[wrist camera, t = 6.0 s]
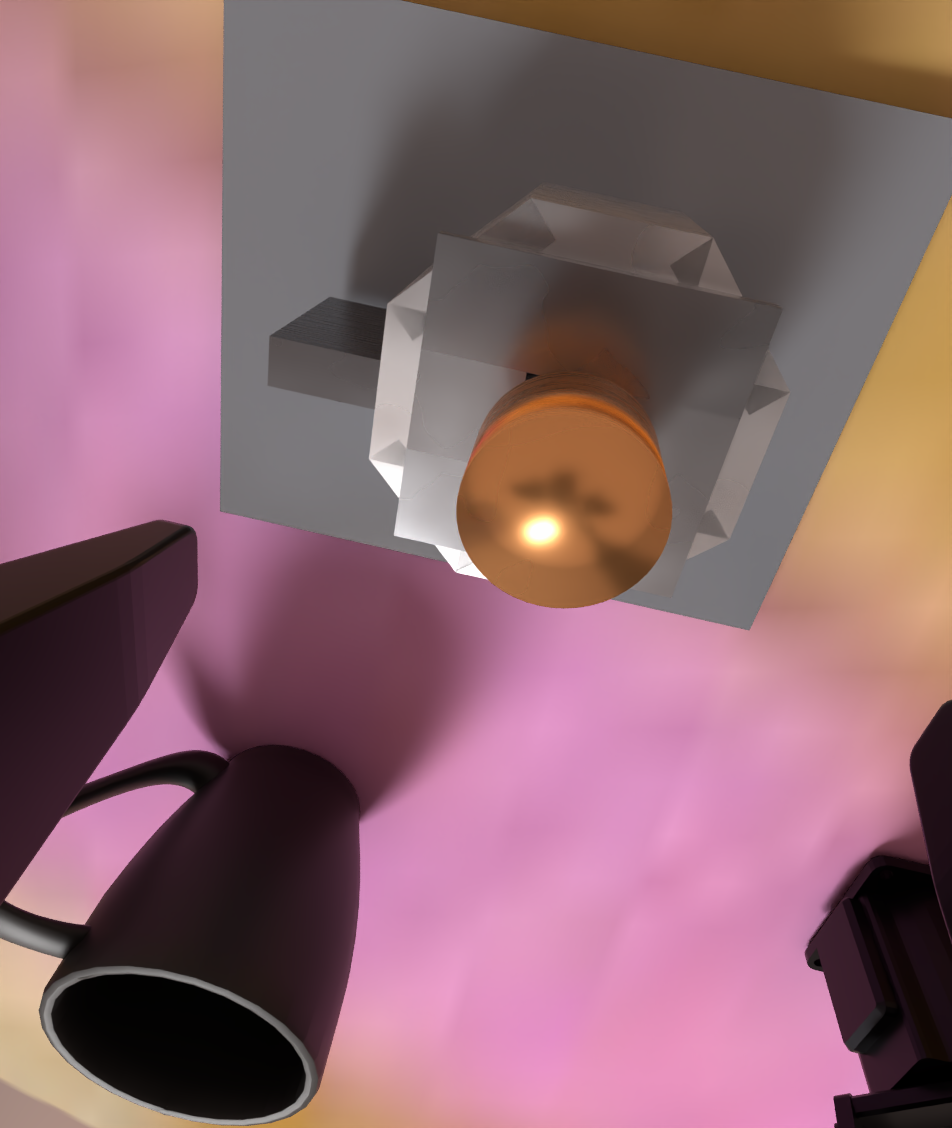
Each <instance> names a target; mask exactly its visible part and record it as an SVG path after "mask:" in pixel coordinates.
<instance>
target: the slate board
mask: <svg viewBox="0 0 952 1128" xmlns="http://www.w3.org/2000/svg"><path fill="white" fill-rule="evenodd" d="M543 182H547V183H552V184H557V185H561V186H566V187H570V188H575V189H580V190H584V191H589V192H593V193H598V194H603V195H607V196H612V197H616V198H621V199H626V200H630V201H635V202H639V203H644V204H649V205H653V206H658V207H662V208H667V209H672V210H676V211H681V212H683V213H684V214H685V215H686V216H688V217H689V218H690V219H691V220H693V221H694V222H695V223H696V224H697V225H699V226H700V227H701V228H702V229H704V230H705V231H706V232H707V233H708V234H710V235H711V236H712V237H713V238H714V240H715V242H716V244H717V246H718V248H719V250H720V252H721V254H722V256H723V258H724V260H725V262H726V264H727V266H728V268H729V270H730V272H731V274H732V276H733V278H734V280H735V282H736V284H737V286H738V288H739V290H740V292H741V294H742V296H743V297H747V298H752V299H757V300H761V301H766V302H770V303H775V304H778V305H779V306H780V307H782V308H783V310H782V313H781V316H780V318H779V321H778V323H777V326H776V329H775V331H774V334H773V336H772V339H771V342H770V344H769V347H768V349H769V351H770V353H771V355H772V357H773V359H774V361H775V363H776V365H777V367H778V369H779V371H780V373H781V375H782V377H783V379H784V381H785V383H786V385H787V387H788V389H789V391H790V395H789V397H788V400H787V402H786V404H785V407H784V409H783V412H782V414H781V417H780V419H779V421H778V424H777V426H776V429H775V431H774V433H773V436H772V438H771V441H770V443H769V445H768V448H767V450H766V453H765V455H764V457H763V460H762V462H761V465H760V467H759V470H758V472H757V474H756V477H755V479H754V482H753V484H752V486H751V489H750V491H749V494H748V496H747V498H746V501H745V503H744V506H743V508H742V511H741V513H740V515H739V518H738V520H737V523H736V525H735V527H734V530H733V532H732V535H731V537H730V539H729V540H727V541H725V542H723V543H721V544H719V545H717V546H715V547H712V548H710V549H708V550H706V551H704V552H702V553H700V554H698V555H696V556H694V557H692V558H689V559H687V560H686V561H685V564H684V567H683V569H682V572H681V574H680V577H679V580H678V582H677V585H676V587H675V590H674V593H673V595H672V598H669V597H665V596H660V595H656V594H651V593H647V592H643V591H638V590H634V589H629V590H627V591H625V592H624V593H622V594H620V595H618V596H616V597H614V598H612V600H617V601H621V602H626V603H630V604H634V605H639V606H643V607H648V608H652V609H657V610H661V611H666V612H670V613H674V614H679V615H683V616H688V617H692V618H697V619H701V620H705V621H710V622H714V623H719V624H723V625H728V626H732V627H737V628H741V629H745V630H750V628H751V626H752V624H753V622H754V619H755V617H756V615H757V613H758V611H759V609H760V607H761V604H762V602H763V600H764V598H765V596H766V594H767V591H768V589H769V587H770V585H771V583H772V581H773V579H774V576H775V574H776V572H777V570H778V568H779V566H780V563H781V561H782V559H783V557H784V555H785V553H786V551H787V548H788V546H789V544H790V542H791V540H792V538H793V535H794V533H795V531H796V529H797V527H798V525H799V523H800V520H801V518H802V516H803V514H804V512H805V510H806V507H807V505H808V503H809V501H810V499H811V497H812V495H813V492H814V490H815V488H816V486H817V484H818V482H819V479H820V477H821V475H822V473H823V471H824V469H825V467H826V464H827V462H828V460H829V458H830V456H831V454H832V452H833V449H834V447H835V445H836V443H837V441H838V439H839V436H840V434H841V432H842V430H843V428H844V426H845V424H846V421H847V419H848V417H849V415H850V413H851V411H852V408H853V406H854V404H855V402H856V400H857V398H858V396H859V393H860V391H861V389H862V387H863V385H864V383H865V380H866V378H867V376H868V374H869V372H870V370H871V368H872V365H873V363H874V361H875V359H876V357H877V355H878V352H879V350H880V348H881V346H882V344H883V342H884V340H885V337H886V335H887V333H888V331H889V329H890V327H891V324H892V322H893V320H894V318H895V316H896V314H897V312H898V309H899V307H900V305H901V303H902V301H903V299H904V297H905V294H906V292H907V290H908V288H909V286H910V284H911V281H912V279H913V277H914V275H915V273H916V271H917V269H918V266H919V264H920V262H921V260H922V258H923V256H924V253H925V251H926V249H927V247H928V245H929V243H930V241H931V238H932V236H933V234H934V232H935V230H936V228H937V225H938V223H939V221H940V219H941V217H942V215H943V213H944V210H945V208H946V206H947V204H948V202H949V200H950V197H951V195H952V118H947V117H942V116H938V115H933V114H928V113H924V112H919V111H914V110H910V109H905V108H900V107H896V106H891V105H887V104H882V103H877V102H873V101H868V100H863V99H859V98H854V97H849V96H845V95H840V94H835V93H831V92H826V91H821V90H817V89H812V88H807V87H803V86H798V85H793V84H789V83H784V82H779V81H775V80H770V79H765V78H761V77H756V76H751V75H747V74H742V73H737V72H733V71H728V70H723V69H719V68H714V67H709V66H705V65H700V64H695V63H691V62H686V61H681V60H677V59H672V58H668V57H663V56H658V55H654V54H649V53H644V52H640V51H635V50H630V49H626V48H621V47H616V46H612V45H607V44H602V43H598V42H593V41H588V40H584V39H579V38H574V37H570V36H565V35H560V34H556V33H551V32H546V31H542V30H537V29H532V28H528V27H523V26H518V25H514V24H509V23H504V22H500V21H495V20H490V19H486V18H481V17H476V16H472V15H467V14H462V13H458V12H453V11H449V10H444V9H439V8H435V7H430V6H425V5H421V4H416V3H411V2H407V1H402V0H224V56H223V192H222V329H221V465H220V511H221V512H226V513H230V514H235V515H239V516H243V517H248V518H252V519H257V520H261V521H266V522H270V523H275V524H279V525H283V526H288V527H292V528H297V529H301V530H306V531H310V532H315V533H319V534H323V535H328V536H332V537H337V538H341V539H346V540H350V541H355V542H359V543H363V544H368V545H372V546H377V547H381V548H386V549H390V550H395V551H399V552H403V553H408V554H412V555H417V556H421V557H426V558H430V559H434V560H439V561H443V562H448V561H447V560H446V559H445V557H444V556H443V555H442V553H441V552H440V551H439V550H438V548H437V547H436V546H435V545H434V544H429V543H425V542H420V541H416V540H411V539H407V538H402V537H398V536H394V531H395V524H396V517H397V510H398V503H399V497H398V496H397V495H396V493H395V492H394V491H393V490H392V488H391V487H390V486H389V484H388V483H387V482H386V480H385V479H384V478H383V476H382V475H381V474H380V473H379V471H378V470H377V469H376V467H375V466H374V465H373V463H372V462H371V461H370V460H369V454H370V446H371V437H372V429H373V420H374V412H375V410H374V409H370V408H365V407H361V406H356V405H352V404H347V403H343V402H338V401H334V400H329V399H325V398H320V397H316V396H311V395H307V394H302V393H298V392H293V391H289V390H284V389H280V388H275V387H271V386H267V385H268V360H269V336H270V335H272V334H273V333H275V332H276V331H278V330H279V329H281V328H282V327H284V326H285V325H287V324H289V323H290V322H292V321H293V320H295V319H296V318H298V317H299V316H301V315H302V314H304V313H305V312H307V311H309V310H310V309H312V308H313V307H315V306H316V305H318V304H319V303H321V302H322V301H324V300H326V299H327V298H329V297H334V298H339V299H343V300H348V301H352V302H357V303H361V304H366V305H371V306H375V307H380V308H384V309H387V303H388V302H390V301H391V300H392V299H393V298H394V297H395V296H396V295H398V294H399V293H400V292H401V291H402V290H403V289H404V288H406V287H407V286H408V285H409V284H410V283H411V282H412V281H414V280H415V279H416V278H417V277H418V276H419V275H420V274H422V273H423V272H424V271H425V270H426V269H427V268H428V267H430V266H431V265H432V264H433V263H434V256H435V249H436V243H437V236H438V233H439V232H440V231H446V232H450V233H455V234H460V235H464V236H469V237H470V236H471V235H473V234H474V233H475V232H477V231H478V230H480V229H481V228H482V227H484V226H485V225H486V224H488V223H489V222H490V221H492V220H493V219H494V218H496V217H497V216H498V215H500V214H501V213H503V212H504V211H505V210H507V209H508V208H509V207H511V206H512V205H513V204H515V203H516V202H517V201H519V200H520V199H522V198H523V197H524V196H526V195H527V194H528V193H530V192H531V191H532V190H534V189H535V188H536V187H538V186H539V185H541V184H542V183H543Z"/></svg>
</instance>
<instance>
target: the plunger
mask: <svg viewBox="0 0 952 1128" xmlns="http://www.w3.org/2000/svg"><path fill="white" fill-rule="evenodd" d="M456 518H457V525H458V531H459V535H460V538H461V541H462V544H463V546H464V548H465V550H466V552H467V554H468V556H469V558H470V559H471V561H472V562H473V564H474V565H475V566H476V568H477V569H478V570H479V571H480V572H481V574H482V575H483V576H484V577H486V578H487V579H488V580H489V581H490V582H491V583H492V584H494V585H495V586H496V587H498V588H499V589H501V590H502V591H504V592H506V593H507V594H509V595H511V596H513V597H515V598H517V599H520V600H522V601H525V602H528V603H531V604H535V605H539V606H545V607H551V608H578V607H585V606H591V605H594V604H598V603H601V602H604V601H607V600H609V599H612V598H614V597H616V596H618V595H620V594H622V593H624V592H625V591H627V590H629V589H630V588H631V587H633V586H634V585H635V584H637V583H638V582H639V581H640V580H641V579H642V578H643V577H645V576H646V575H647V574H648V572H649V571H650V570H651V569H652V568H653V566H654V565H655V564H656V562H657V561H658V559H659V557H660V556H661V554H662V552H663V550H664V548H665V546H666V543H667V541H668V537H669V534H670V530H671V523H672V500H671V495H670V489H669V485H668V481H667V477H666V473H665V468H664V464H663V460H662V456H661V452H660V448H659V443H658V439H657V436H656V433H655V429H654V426H653V424H652V422H651V420H650V418H649V416H648V415H647V413H646V412H645V410H644V409H643V407H642V406H641V405H640V404H639V402H638V401H637V400H636V399H635V398H634V397H633V396H632V395H631V394H629V393H628V392H627V391H626V390H624V389H623V388H622V387H620V386H618V385H617V384H615V383H613V382H611V381H609V380H607V379H605V378H602V377H599V376H596V375H592V374H589V373H582V372H573V371H562V372H552V373H547V374H543V375H536V374H532V373H527V375H526V379H525V381H524V382H522V383H520V384H519V385H517V386H515V387H514V388H512V389H511V390H510V391H508V392H507V393H505V394H504V395H503V396H502V397H501V398H500V399H499V400H498V401H497V402H496V403H495V405H494V406H493V407H492V408H491V410H490V411H489V412H488V414H487V416H486V417H485V419H484V421H483V423H482V425H481V428H480V430H479V433H478V435H477V438H476V441H475V444H474V447H473V450H472V453H471V455H470V458H469V461H468V464H467V467H466V470H465V473H464V475H463V478H462V481H461V484H460V488H459V492H458V496H457V505H456Z"/></svg>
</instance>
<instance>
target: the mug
mask: <svg viewBox="0 0 952 1128" xmlns="http://www.w3.org/2000/svg"><path fill="white" fill-rule="evenodd" d="M160 784H172V785H179V786H182V787H185V788H187V789H189V790H191V791H193V792H194V793H195V794H194V795H193V796H191V797H190V798H189V799H188V800H187V801H186V802H185V803H184V804H183V805H182V806H181V807H180V808H179V809H178V810H177V811H176V812H175V813H174V814H173V815H172V816H171V817H170V818H169V819H168V820H167V821H166V822H165V823H164V824H163V825H162V826H161V827H160V828H159V829H158V830H157V831H156V832H155V833H154V835H153V836H152V837H151V838H150V839H149V840H148V841H147V842H146V844H145V845H144V846H143V847H142V848H141V849H140V850H139V852H138V853H137V854H136V855H135V856H134V858H133V859H132V860H131V861H130V862H129V864H128V865H127V866H126V867H125V869H124V870H123V871H122V872H121V874H120V875H119V876H118V878H117V879H116V880H115V881H114V883H113V884H112V885H111V886H110V888H109V889H108V890H107V892H106V893H105V894H104V896H103V897H102V899H101V900H100V902H99V903H98V905H97V907H96V908H95V910H94V911H93V913H92V914H91V916H90V917H89V919H88V920H87V922H86V923H85V925H80V924H72V923H66V922H61V921H57V920H53V919H49V918H45V917H42V916H38V915H35V914H32V913H30V912H27V911H25V910H22V909H20V908H18V907H16V906H14V905H12V904H10V903H8V902H6V901H5V900H4V901H3V903H2V904H1V906H0V938H2V939H4V940H6V941H9V942H11V943H14V944H17V945H20V946H23V947H26V948H29V949H32V950H35V951H38V952H41V953H44V954H47V955H51V956H54V957H58V958H62V959H63V960H62V962H61V963H60V965H59V966H58V968H57V970H56V971H55V973H54V974H53V976H52V977H51V979H50V981H49V982H48V984H47V985H46V987H45V989H44V992H43V996H42V1000H41V1004H40V1008H39V1014H40V1019H41V1025H42V1028H43V1030H44V1032H45V1034H46V1035H47V1037H48V1039H49V1041H50V1043H51V1044H52V1046H53V1047H54V1048H55V1049H56V1050H57V1051H58V1052H59V1053H60V1055H61V1056H62V1057H63V1058H64V1059H65V1060H66V1061H67V1062H68V1063H69V1064H70V1065H72V1066H73V1067H74V1068H75V1069H77V1070H78V1071H79V1072H80V1073H82V1074H83V1075H84V1076H85V1077H87V1078H88V1079H90V1080H91V1081H93V1082H95V1083H96V1084H98V1085H100V1086H101V1087H103V1088H105V1089H106V1090H108V1091H109V1092H111V1093H113V1094H115V1095H118V1096H120V1097H122V1098H124V1099H126V1100H128V1101H130V1102H133V1103H135V1104H137V1105H140V1106H142V1107H145V1108H148V1109H151V1110H154V1111H157V1112H160V1113H162V1114H164V1115H169V1116H174V1117H178V1118H182V1119H186V1120H190V1121H194V1122H202V1123H209V1124H216V1125H236V1126H249V1125H258V1124H266V1123H272V1122H275V1121H279V1120H282V1119H285V1118H288V1117H291V1116H293V1115H294V1114H296V1113H297V1112H299V1111H300V1110H302V1109H304V1108H305V1107H306V1106H307V1105H308V1104H309V1102H310V1101H311V1100H312V1098H313V1097H314V1096H315V1094H316V1093H317V1091H318V1089H319V1087H320V1083H321V1080H322V1076H323V1073H324V1069H325V1065H326V1062H327V1058H328V1055H329V1051H330V1047H331V1044H332V1040H333V1036H334V1033H335V1029H336V1026H337V1022H338V1018H339V1014H340V1011H341V1007H342V1003H343V999H344V995H345V991H346V988H347V983H348V978H349V973H350V968H351V962H352V956H353V950H354V944H355V937H356V929H357V919H358V909H359V891H360V844H359V816H360V807H359V800H358V797H357V794H356V792H355V790H354V788H353V786H352V784H351V783H350V782H349V780H348V779H347V778H346V776H345V775H344V774H343V773H342V772H340V771H339V770H338V769H337V768H336V767H335V766H334V765H332V764H331V763H329V762H328V761H326V760H324V759H323V758H321V757H319V756H317V755H315V754H312V753H310V752H308V751H305V750H302V749H298V748H294V747H289V746H279V745H268V746H259V747H255V748H252V749H249V750H246V751H243V752H242V753H240V754H239V755H237V756H235V757H234V758H232V759H231V761H230V762H228V761H226V760H225V759H224V758H222V757H220V756H219V755H217V754H214V753H211V752H208V751H201V750H191V751H183V752H178V753H174V754H170V755H166V756H163V757H159V758H156V759H153V760H150V761H147V762H144V763H142V764H139V765H136V766H133V767H130V768H128V769H125V770H122V771H119V772H117V773H114V774H111V775H109V776H106V777H103V778H100V779H98V780H95V781H92V782H89V783H87V784H85V785H84V786H83V788H82V789H81V790H80V792H79V793H78V795H77V796H76V798H75V799H74V801H73V802H72V803H71V805H70V806H69V808H68V809H67V811H66V812H65V813H64V815H63V816H62V818H63V817H65V816H67V815H69V814H71V813H74V812H76V811H78V810H81V809H83V808H85V807H88V806H90V805H93V804H95V803H98V802H100V801H103V800H105V799H108V798H111V797H113V796H116V795H119V794H122V793H125V792H128V791H131V790H135V789H139V788H143V787H147V786H152V785H160Z"/></svg>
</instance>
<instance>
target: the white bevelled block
mask: <svg viewBox="0 0 952 1128" xmlns="http://www.w3.org/2000/svg"><path fill="white" fill-rule="evenodd" d="M782 310H783V308H782V307H780V306H779V305H778V304H775V303H770V302H766V301H761V300H757V299H752V298H747V297H743V296H742V294H741V292H740V290H739V288H738V286H737V284H736V282H735V280H734V278H733V276H732V274H731V272H730V270H729V268H728V266H727V264H726V262H725V260H724V258H723V256H722V254H721V252H720V250H719V248H718V246H717V244H716V242H715V240H714V238H713V237H712V236H711V235H710V234H708V233H707V232H706V231H705V230H704V229H702V228H701V227H700V226H699V225H697V224H696V223H695V222H694V221H693V220H691V219H690V218H689V217H688V216H686V215H685V214H684V213H683V212H681V211H676V210H672V209H667V208H662V207H658V206H653V205H649V204H644V203H639V202H635V201H630V200H626V199H621V198H616V197H612V196H607V195H603V194H598V193H593V192H589V191H584V190H580V189H575V188H570V187H566V186H561V185H557V184H552V183H547V182H543V183H542V184H541V185H539V186H538V187H536V188H535V189H534V190H532V191H531V192H530V193H528V194H527V195H526V196H524V197H523V198H522V199H520V200H519V201H517V202H516V203H515V204H513V205H512V206H511V207H509V208H508V209H507V210H505V211H504V212H503V213H501V214H500V215H498V216H497V217H496V218H494V219H493V220H492V221H490V222H489V223H488V224H486V225H485V226H484V227H482V228H481V229H480V230H478V231H477V232H475V233H474V234H473V235H471V236H470V237H469V236H464V235H460V234H455V233H450V232H446V231H440V232H439V233H438V236H437V243H436V249H435V256H434V263H433V264H432V265H431V266H430V267H428V268H427V269H426V270H425V271H424V272H423V273H422V274H420V275H419V276H418V277H417V278H416V279H415V280H414V281H412V282H411V283H410V284H409V285H408V286H407V287H406V288H404V289H403V290H402V291H401V292H400V293H399V294H398V295H396V296H395V297H394V298H393V299H392V300H391V301H390V302H388V303H387V309H384V308H380V307H375V306H371V305H366V304H361V303H357V302H352V301H348V300H343V299H339V298H334V297H329V298H327V299H326V300H324V301H322V302H321V303H319V304H318V305H316V306H315V307H313V308H312V309H310V310H309V311H307V312H305V313H304V314H302V315H301V316H299V317H298V318H296V319H295V320H293V321H292V322H290V323H289V324H287V325H285V326H284V327H282V328H281V329H279V330H278V331H276V332H275V333H273V334H272V335H270V336H269V360H268V385H267V386H271V387H275V388H280V389H284V390H289V391H293V392H298V393H302V394H307V395H311V396H316V397H320V398H325V399H329V400H334V401H338V402H343V403H347V404H352V405H356V406H361V407H365V408H370V409H374V410H375V412H374V420H373V429H372V437H371V446H370V454H369V460H370V461H371V462H372V463H373V465H374V466H375V467H376V469H377V470H378V471H379V473H380V474H381V475H382V476H383V478H384V479H385V480H386V482H387V483H388V484H389V486H390V487H391V488H392V490H393V491H394V492H395V493H396V495H397V496H398V497H399V503H398V510H397V517H396V524H395V531H394V536H398V537H402V538H407V539H411V540H416V541H420V542H425V543H429V544H434V545H435V546H436V547H437V548H438V550H439V551H440V552H441V553H442V555H443V556H444V557H445V559H446V560H447V561H448V563H449V564H450V565H451V567H452V568H453V569H454V570H455V572H457V573H461V574H466V575H470V576H474V577H479V578H483V579H487V578H486V577H484V576H483V575H482V574H481V572H480V571H479V570H478V569H477V568H476V566H475V565H474V564H473V562H472V561H471V559H470V558H469V556H468V554H467V552H466V550H465V548H464V546H463V544H462V541H461V538H460V535H459V531H458V525H457V518H456V505H457V496H458V492H459V488H460V484H461V481H462V478H463V475H464V473H465V470H466V467H467V464H468V461H469V458H470V455H471V453H472V450H473V447H474V444H475V441H476V438H477V435H478V433H479V430H480V428H481V425H482V423H483V421H484V419H485V417H486V416H487V414H488V412H489V411H490V410H491V408H492V407H493V406H494V405H495V403H496V402H497V401H498V400H499V399H500V398H501V397H502V396H503V395H504V394H505V393H507V392H508V391H510V390H511V389H512V388H514V387H515V386H517V385H519V384H520V383H522V382H524V381H525V379H526V375H527V373H532V374H536V375H543V374H547V373H552V372H562V371H573V372H582V373H589V374H592V375H596V376H599V377H602V378H605V379H607V380H609V381H611V382H613V383H615V384H617V385H618V386H620V387H622V388H623V389H624V390H626V391H627V392H628V393H629V394H631V395H632V396H633V397H634V398H635V399H636V400H637V401H638V402H639V404H640V405H641V406H642V407H643V409H644V410H645V412H646V413H647V415H648V416H649V418H650V420H651V422H652V424H653V426H654V429H655V433H656V436H657V439H658V443H659V448H660V452H661V456H662V460H663V464H664V468H665V473H666V477H667V481H668V485H669V489H670V495H671V500H672V523H671V530H670V534H669V537H668V541H667V543H666V546H665V548H664V550H663V552H662V554H661V556H660V557H659V559H658V561H657V562H656V564H655V565H654V566H653V568H652V569H651V570H650V571H649V572H648V574H647V575H646V576H645V577H643V578H642V579H641V580H640V581H639V582H638V583H637V584H635V585H634V586H633V587H631V588H630V589H634V590H638V591H643V592H647V593H651V594H656V595H660V596H665V597H669V598H672V595H673V593H674V590H675V587H676V585H677V582H678V580H679V577H680V574H681V572H682V569H683V567H684V564H685V561H686V560H687V559H689V558H692V557H694V556H696V555H698V554H700V553H702V552H704V551H706V550H708V549H710V548H712V547H715V546H717V545H719V544H721V543H723V542H725V541H727V540H729V539H730V537H731V535H732V532H733V530H734V527H735V525H736V523H737V520H738V518H739V515H740V513H741V511H742V508H743V506H744V503H745V501H746V498H747V496H748V494H749V491H750V489H751V486H752V484H753V482H754V479H755V477H756V474H757V472H758V470H759V467H760V465H761V462H762V460H763V457H764V455H765V453H766V450H767V448H768V445H769V443H770V441H771V438H772V436H773V433H774V431H775V429H776V426H777V424H778V421H779V419H780V417H781V414H782V412H783V409H784V407H785V404H786V402H787V400H788V397H789V395H790V391H789V389H788V387H787V385H786V383H785V381H784V379H783V377H782V375H781V373H780V371H779V369H778V367H777V365H776V363H775V361H774V359H773V357H772V355H771V353H770V351H769V349H768V347H769V344H770V342H771V339H772V336H773V334H774V331H775V329H776V326H777V323H778V321H779V318H780V316H781V313H782Z"/></svg>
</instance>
